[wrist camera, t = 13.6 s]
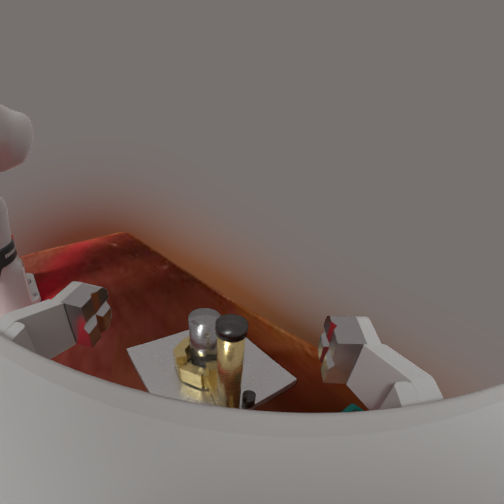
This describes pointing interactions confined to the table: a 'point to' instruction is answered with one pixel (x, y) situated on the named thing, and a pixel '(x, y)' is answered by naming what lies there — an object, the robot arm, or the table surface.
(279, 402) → the table surface
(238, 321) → the brass metal fixture
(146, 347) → the spigot base
